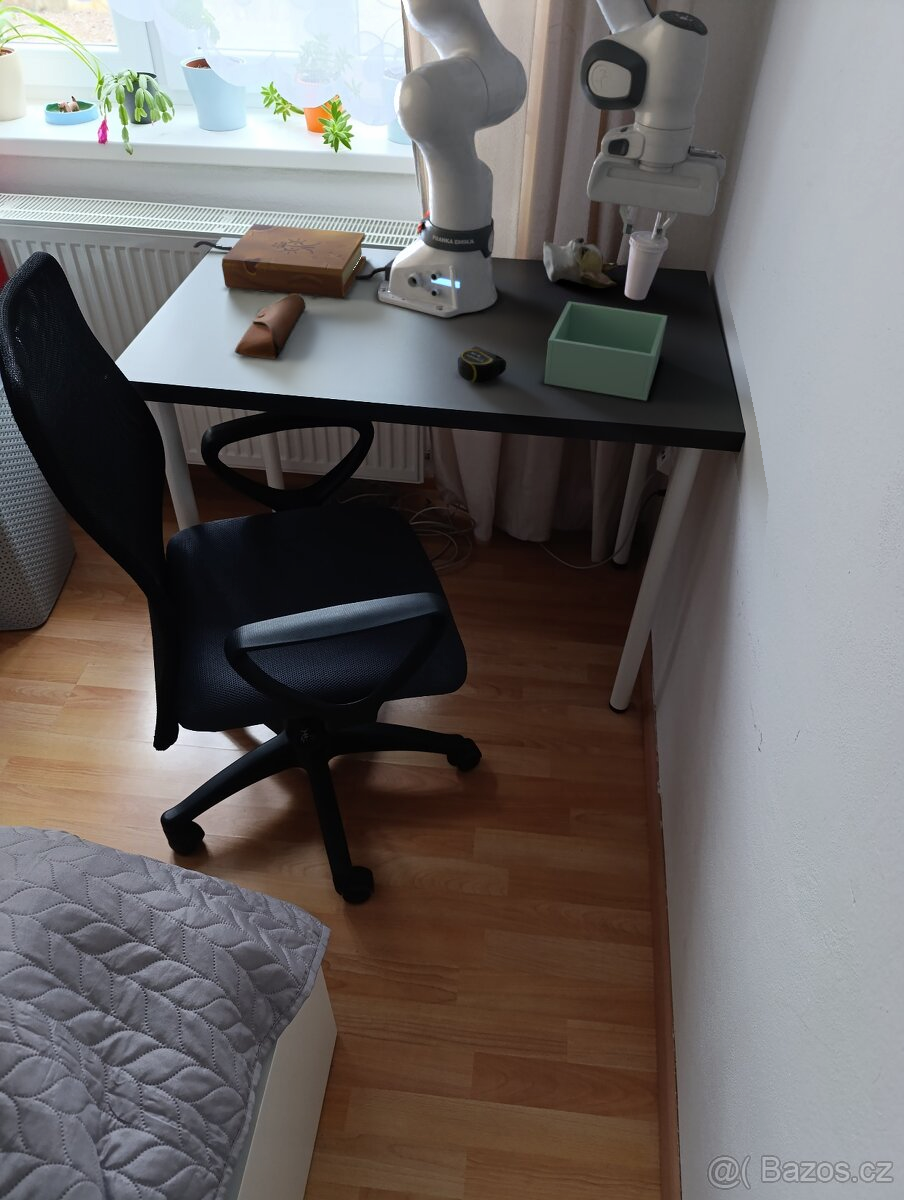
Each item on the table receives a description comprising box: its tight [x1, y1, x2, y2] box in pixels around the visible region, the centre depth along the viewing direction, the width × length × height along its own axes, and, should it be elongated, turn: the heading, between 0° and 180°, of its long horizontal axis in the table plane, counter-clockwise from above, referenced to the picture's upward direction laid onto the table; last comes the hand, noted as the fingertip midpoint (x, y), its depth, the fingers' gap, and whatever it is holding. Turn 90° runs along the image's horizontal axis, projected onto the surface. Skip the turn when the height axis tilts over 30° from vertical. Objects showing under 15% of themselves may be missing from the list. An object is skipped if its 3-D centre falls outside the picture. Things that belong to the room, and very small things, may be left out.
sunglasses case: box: [234, 293, 307, 360], centre depth 145 cm, size 18×7×7 cm, turn 174°
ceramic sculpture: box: [542, 237, 619, 289], centre depth 160 cm, size 11×9×15 cm
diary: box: [221, 223, 367, 299], centre depth 162 cm, size 23×19×6 cm
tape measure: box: [457, 345, 507, 384], centre depth 135 cm, size 7×7×4 cm
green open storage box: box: [544, 300, 668, 401], centre depth 136 cm, size 17×15×8 cm
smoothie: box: [624, 211, 669, 301], centre depth 138 cm, size 6×6×14 cm
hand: (643, 235), depth 136 cm, fingers closed on smoothie, 4 cm apart
